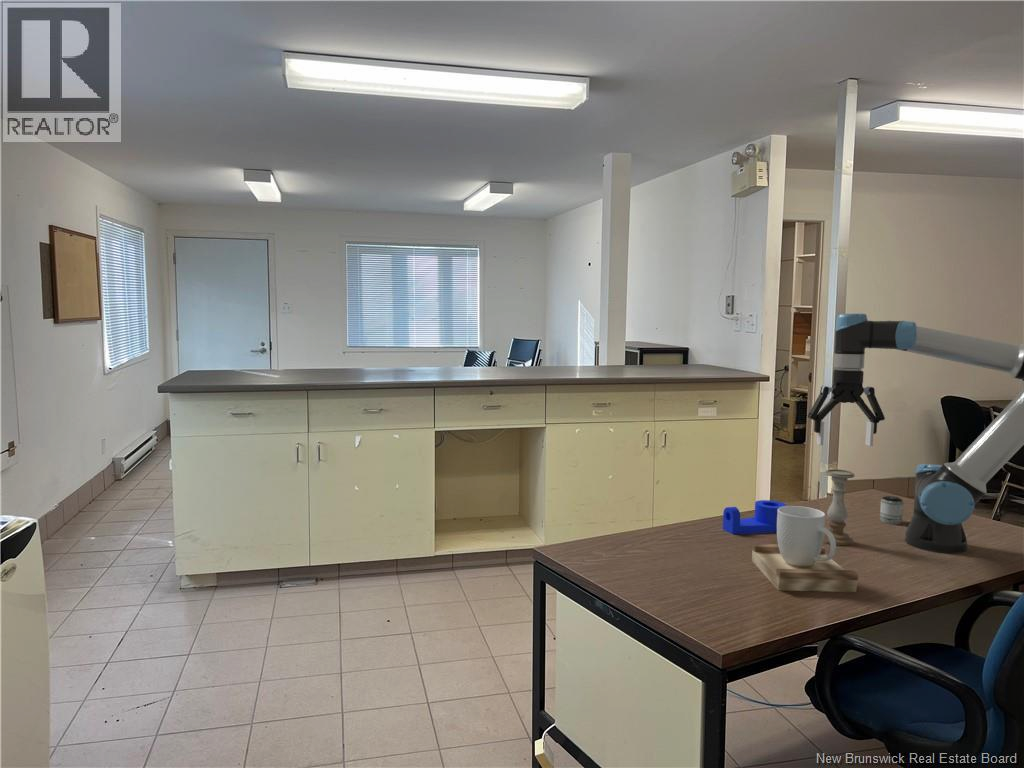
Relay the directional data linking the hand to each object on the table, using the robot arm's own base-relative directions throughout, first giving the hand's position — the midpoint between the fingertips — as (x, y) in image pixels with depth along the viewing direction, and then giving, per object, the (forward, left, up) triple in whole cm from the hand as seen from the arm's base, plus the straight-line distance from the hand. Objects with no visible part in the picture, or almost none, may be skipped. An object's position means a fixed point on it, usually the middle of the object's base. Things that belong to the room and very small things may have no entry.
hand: (844, 445), depth 194 cm
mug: (+20, +25, -26) cm, 41 cm away
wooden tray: (+20, +25, -29) cm, 43 cm away
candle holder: (-1, -3, -29) cm, 29 cm away
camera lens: (-27, -24, -29) cm, 46 cm away
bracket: (+19, -13, -29) cm, 38 cm away
